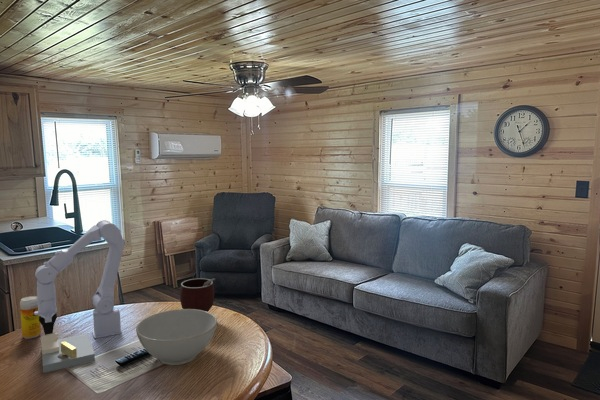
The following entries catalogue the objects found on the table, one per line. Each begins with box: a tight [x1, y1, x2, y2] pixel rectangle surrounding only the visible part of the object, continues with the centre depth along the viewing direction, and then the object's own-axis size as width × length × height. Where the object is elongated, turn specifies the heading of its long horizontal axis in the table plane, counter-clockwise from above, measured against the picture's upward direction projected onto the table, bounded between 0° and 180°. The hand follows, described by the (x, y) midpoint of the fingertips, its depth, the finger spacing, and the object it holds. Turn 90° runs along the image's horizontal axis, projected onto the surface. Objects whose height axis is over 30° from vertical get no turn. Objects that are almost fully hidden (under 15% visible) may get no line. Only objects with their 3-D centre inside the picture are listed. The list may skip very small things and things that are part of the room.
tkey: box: [61, 341, 77, 359], centre depth 138 cm, size 8×2×4 cm, turn 53°
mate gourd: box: [179, 277, 216, 312], centre depth 173 cm, size 16×14×20 cm
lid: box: [40, 332, 59, 356], centre depth 145 cm, size 5×8×4 cm, turn 33°
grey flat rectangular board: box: [41, 333, 96, 374], centre depth 146 cm, size 15×19×3 cm
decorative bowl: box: [135, 308, 218, 366], centre depth 145 cm, size 27×27×12 cm
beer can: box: [19, 295, 42, 340], centre depth 160 cm, size 6×6×15 cm
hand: (48, 334), depth 152 cm, fingers closed
